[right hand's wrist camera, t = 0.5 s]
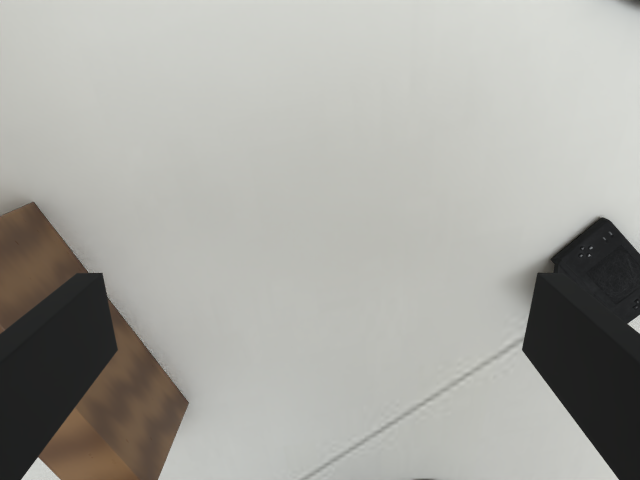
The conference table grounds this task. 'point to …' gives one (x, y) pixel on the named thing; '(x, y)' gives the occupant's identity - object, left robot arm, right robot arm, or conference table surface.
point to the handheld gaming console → (604, 268)
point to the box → (113, 382)
